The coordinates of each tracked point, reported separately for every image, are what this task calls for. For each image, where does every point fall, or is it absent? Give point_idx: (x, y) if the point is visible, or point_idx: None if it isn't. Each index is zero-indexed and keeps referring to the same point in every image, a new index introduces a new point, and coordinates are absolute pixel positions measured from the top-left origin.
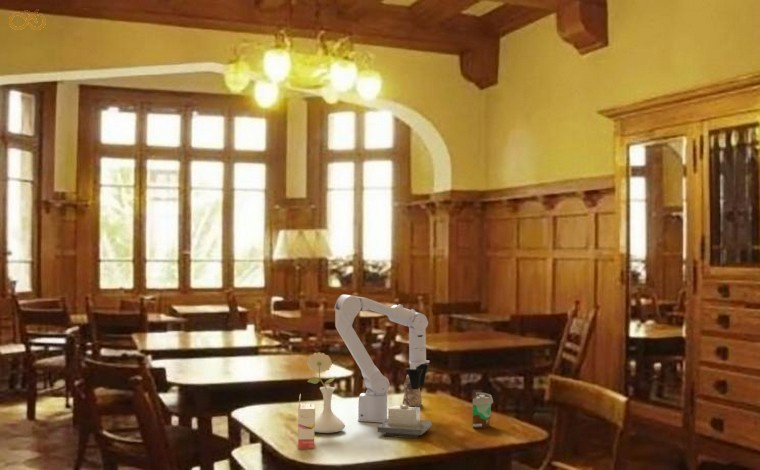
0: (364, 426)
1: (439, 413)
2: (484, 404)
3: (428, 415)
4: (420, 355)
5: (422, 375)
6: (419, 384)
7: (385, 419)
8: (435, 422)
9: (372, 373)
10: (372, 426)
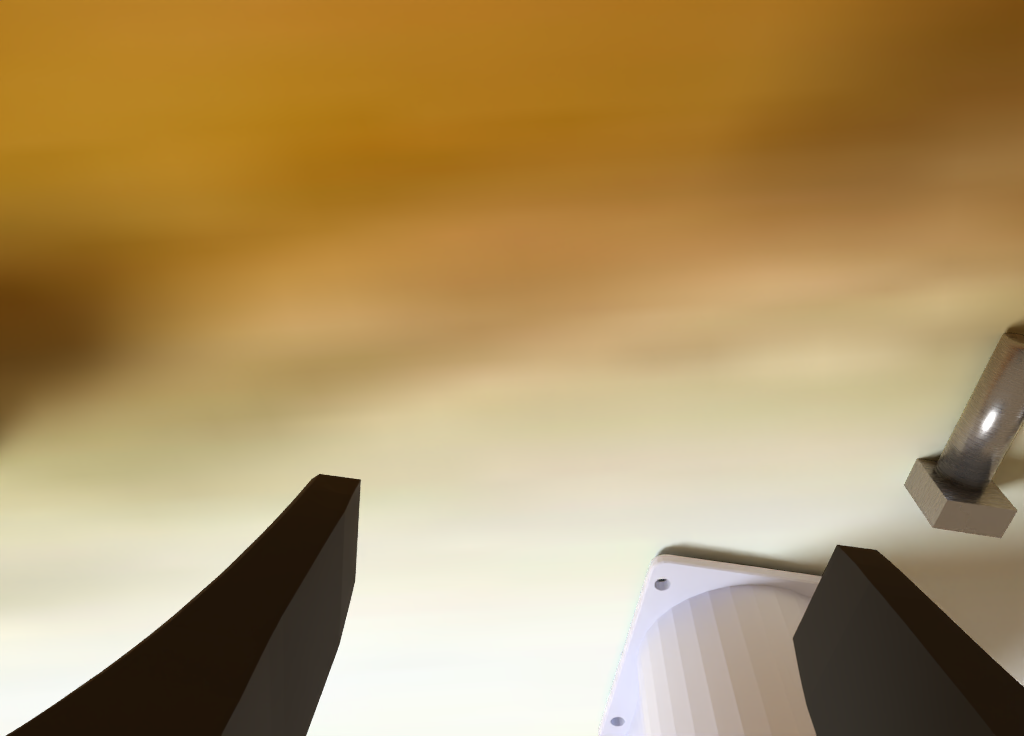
0: None
1: (220, 17)
2: None
3: (401, 171)
4: None
5: (265, 700)
6: (355, 562)
7: (801, 595)
8: (862, 37)
9: None
10: (1010, 655)
